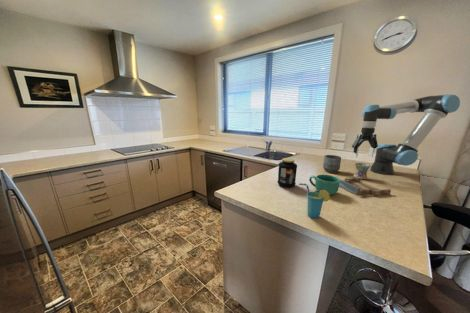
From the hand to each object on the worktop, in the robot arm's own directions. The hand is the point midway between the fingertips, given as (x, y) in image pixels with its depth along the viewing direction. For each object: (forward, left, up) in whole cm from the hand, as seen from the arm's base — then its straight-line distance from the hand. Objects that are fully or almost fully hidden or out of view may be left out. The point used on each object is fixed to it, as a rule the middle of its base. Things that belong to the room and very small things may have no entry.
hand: (362, 156), depth 132 cm
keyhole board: (+18, +17, -16) cm, 29 cm away
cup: (+67, +38, -16) cm, 79 cm away
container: (+61, +2, -16) cm, 63 cm away
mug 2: (0, 0, -16) cm, 16 cm away
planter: (+11, -17, -16) cm, 26 cm away
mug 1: (+44, +16, -16) cm, 49 cm away
